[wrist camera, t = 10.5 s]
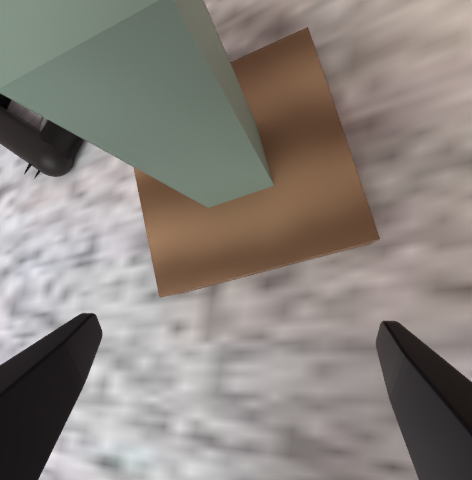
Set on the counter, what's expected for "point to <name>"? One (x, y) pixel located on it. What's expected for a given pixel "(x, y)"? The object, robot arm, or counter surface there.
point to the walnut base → (273, 198)
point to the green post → (138, 88)
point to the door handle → (38, 142)
